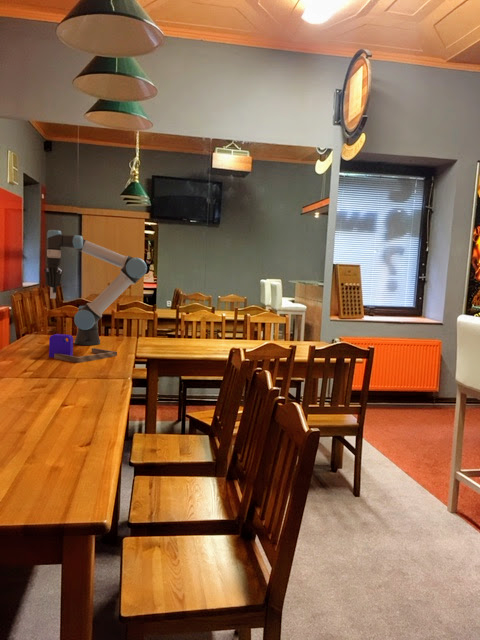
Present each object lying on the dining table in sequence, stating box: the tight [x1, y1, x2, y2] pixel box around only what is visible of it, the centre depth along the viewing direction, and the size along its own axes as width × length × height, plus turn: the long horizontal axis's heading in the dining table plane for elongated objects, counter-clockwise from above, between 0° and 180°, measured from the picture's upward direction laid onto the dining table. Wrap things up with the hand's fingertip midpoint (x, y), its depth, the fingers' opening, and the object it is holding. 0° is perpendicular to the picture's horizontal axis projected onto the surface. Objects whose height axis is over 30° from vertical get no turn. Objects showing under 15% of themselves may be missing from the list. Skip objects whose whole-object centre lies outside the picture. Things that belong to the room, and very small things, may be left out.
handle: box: [53, 347, 118, 364], centre depth 273 cm, size 28×17×2 cm, turn 151°
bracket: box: [48, 333, 74, 358], centre depth 277 cm, size 18×11×12 cm, turn 1°
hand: (52, 298), depth 297 cm, fingers closed
